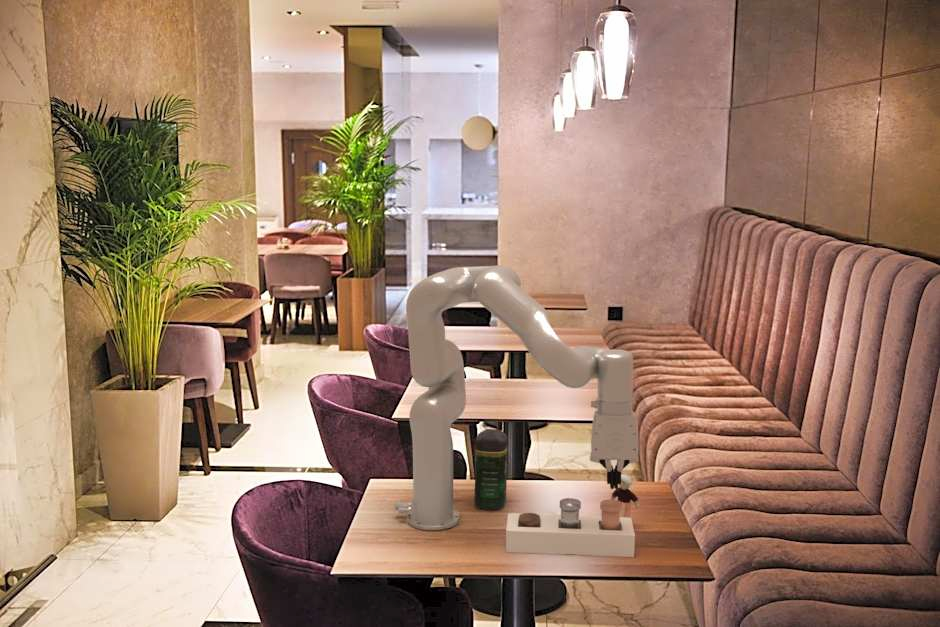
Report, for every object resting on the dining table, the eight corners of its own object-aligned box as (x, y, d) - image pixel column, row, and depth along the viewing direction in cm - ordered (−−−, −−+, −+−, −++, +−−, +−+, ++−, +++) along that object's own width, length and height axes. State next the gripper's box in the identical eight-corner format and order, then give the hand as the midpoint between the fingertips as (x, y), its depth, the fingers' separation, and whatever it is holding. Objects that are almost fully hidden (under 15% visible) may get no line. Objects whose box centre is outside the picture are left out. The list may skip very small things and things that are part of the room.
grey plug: (559, 531, 213) (559, 505, 212) (558, 523, 218) (559, 497, 217) (580, 532, 213) (581, 506, 212) (579, 523, 218) (580, 498, 216)
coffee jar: (504, 511, 235) (505, 439, 232) (472, 510, 236) (472, 437, 233) (508, 497, 244) (509, 427, 241) (477, 495, 245) (477, 425, 242)
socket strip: (505, 552, 212) (506, 530, 211) (507, 533, 222) (508, 513, 221) (634, 557, 210) (634, 535, 209) (630, 538, 220) (631, 517, 219)
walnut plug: (518, 546, 215) (518, 520, 214) (518, 537, 219) (519, 512, 218) (539, 546, 214) (539, 521, 213) (539, 538, 219) (540, 513, 218)
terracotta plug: (600, 532, 213) (600, 507, 212) (599, 524, 217) (599, 499, 216) (621, 533, 212) (622, 508, 211) (620, 525, 217) (620, 500, 216)
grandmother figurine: (605, 525, 227) (606, 474, 225) (610, 520, 230) (612, 469, 228) (636, 532, 224) (638, 480, 221) (641, 526, 227) (643, 475, 225)
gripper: (580, 411, 206) (580, 492, 210) (651, 411, 205) (649, 493, 208) (579, 401, 214) (579, 480, 217) (647, 402, 213) (646, 481, 216)
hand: (613, 486), depth 213 cm, fingers closed
